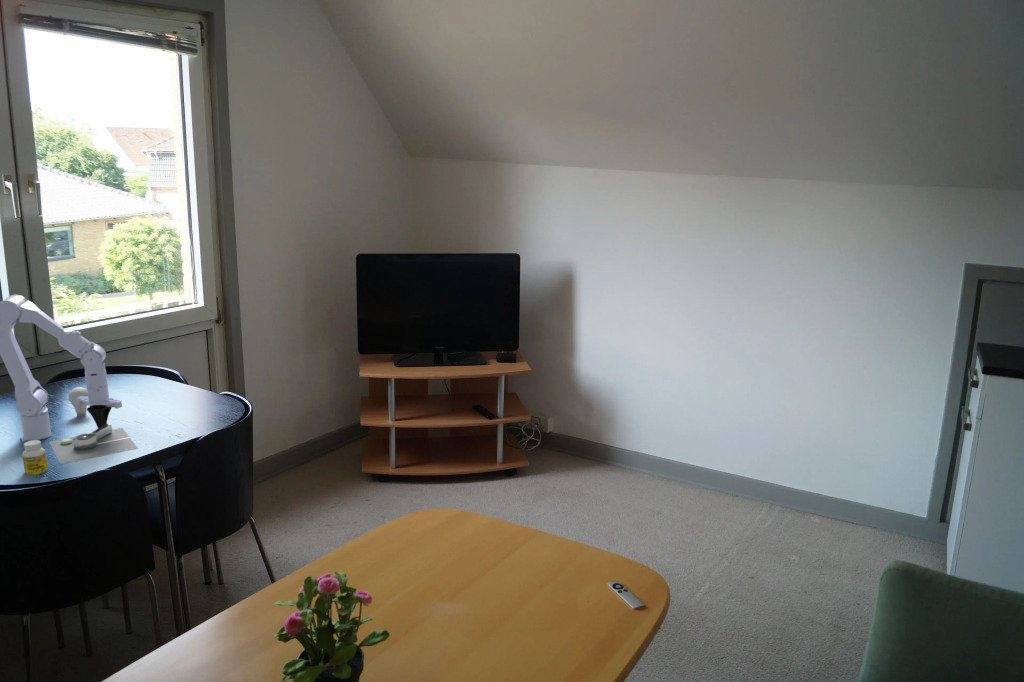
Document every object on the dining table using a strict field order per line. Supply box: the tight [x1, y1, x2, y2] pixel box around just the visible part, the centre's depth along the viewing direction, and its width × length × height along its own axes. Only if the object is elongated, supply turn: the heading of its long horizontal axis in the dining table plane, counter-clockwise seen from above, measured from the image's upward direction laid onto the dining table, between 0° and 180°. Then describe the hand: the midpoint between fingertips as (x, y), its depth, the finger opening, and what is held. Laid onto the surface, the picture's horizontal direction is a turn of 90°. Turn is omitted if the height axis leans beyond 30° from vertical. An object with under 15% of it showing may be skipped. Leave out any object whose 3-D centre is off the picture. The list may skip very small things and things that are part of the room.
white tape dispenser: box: [73, 423, 113, 450], centre depth 236 cm, size 14×6×3 cm, turn 173°
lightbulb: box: [67, 386, 88, 418], centre depth 256 cm, size 6×6×11 cm
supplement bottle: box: [21, 440, 49, 476], centre depth 215 cm, size 5×5×10 cm
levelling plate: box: [48, 427, 139, 465], centre depth 233 cm, size 20×20×2 cm
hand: (102, 427), depth 244 cm, fingers closed
